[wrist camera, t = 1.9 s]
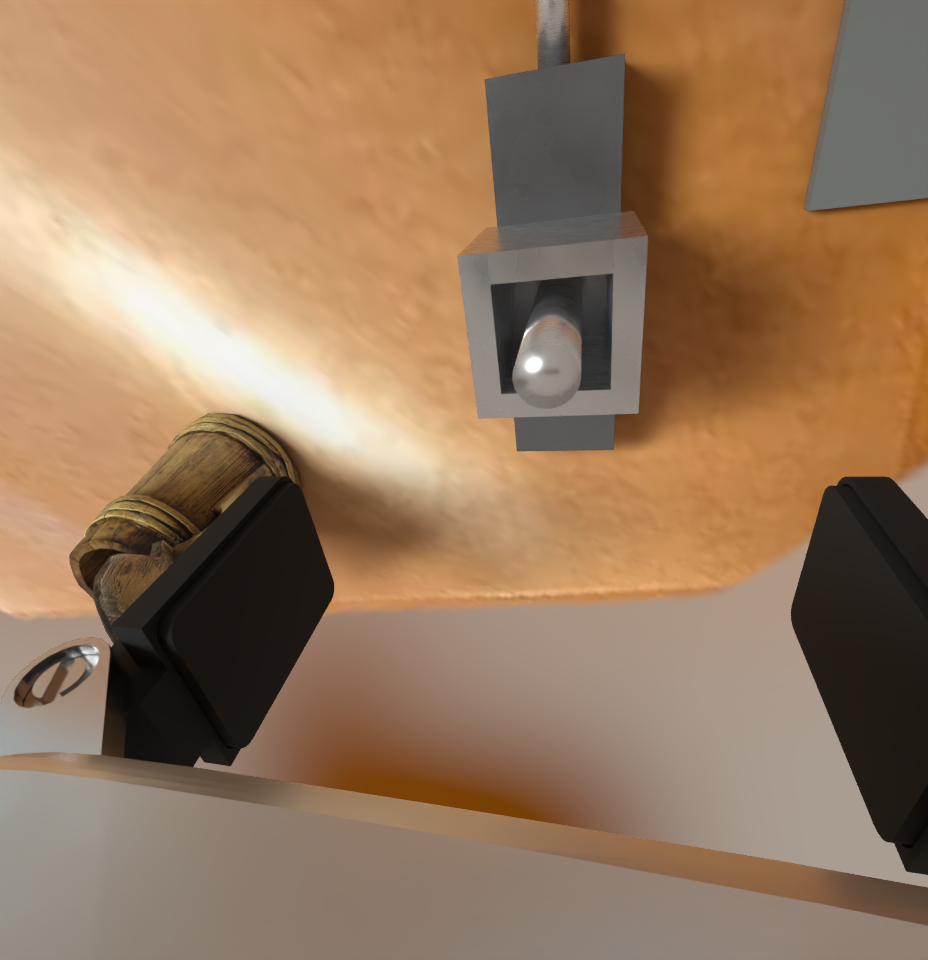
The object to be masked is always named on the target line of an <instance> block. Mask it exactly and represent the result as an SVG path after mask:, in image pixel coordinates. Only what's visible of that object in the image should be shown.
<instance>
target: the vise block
mask: <svg viewBox="0 0 928 960" xmlns="http://www.w3.org/2000/svg"><path fill="white" fill-rule="evenodd" d="M535 9H536V33H537V57H538V70H533V71H527V72H522V73H517V74H511V75H506V76H500V77H495V78H490V79H485V88H486V99H487V111H488V122H489V134H490V145H491V157H492V168H493V180H494V191H495V203H496V214H497V226H498V227H499V226H508V225H516V224H525V223H533V222H542V221H550V220H559V219H567V218H576V217H585V216H593V215H602V214H610V213H619V212H621V182H622V147H623V112H624V77H625V54H619V55H614V56H609V57H603V58H598V59H592V60H587V61H582V62H576V63H571V64H570V5H569V0H535ZM606 287H607V274H601V275H590V276H579V277H568V278H557V279H546V280H535V281H525V282H514V294H515V308H516V321H517V334H518V341H522V343H521V346H520V349H519V352H518V356H517V359H516V362H515V366H514V369H513V375H512V380H513V385H514V388H515V390H516V392H517V394H518V395H519V396H520V398H521V399H522V400H524V401H525V402H526V403H528V404H530V405H531V406H534V407H537V408H542V409H550V408H556V407H559V406H561V405H564V404H565V403H567V402H568V401H569V400H571V399H572V398H573V397H574V395H575V394H576V392H577V391H578V389H579V386H580V382H581V356H582V337H593V336H606ZM514 422H515V434H516V445H517V451H565V450H614V427H615V414H610V415H578V416H546V417H514Z"/></svg>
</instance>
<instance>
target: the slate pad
mask: <svg viewBox="0 0 928 960" xmlns="http://www.w3.org/2000/svg"><path fill="white" fill-rule="evenodd" d="M923 198H928V0H845V5H844V10H843V15H842V20H841V25H840V30H839V35H838V40H837V45H836V50H835V55H834V60H833V65H832V70H831V76H830V81H829V86H828V91H827V96H826V101H825V106H824V111H823V116H822V121H821V126H820V131H819V136H818V141H817V146H816V151H815V156H814V161H813V166H812V171H811V176H810V182H809V187H808V192H807V197H806V202H805V207H804V209H805V210H808V211H813V210H822V209H831V208H840V207H850V206H859V205H868V204H877V203H886V202H895V201H904V200H914V199H923Z"/></svg>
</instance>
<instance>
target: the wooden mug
mask: <svg viewBox="0 0 928 960" xmlns="http://www.w3.org/2000/svg"><path fill="white" fill-rule="evenodd" d="M262 476H287V477H289V478H291V479H292V481H293V482H294V483H295V484H298V485H299V486H300V488H301V490H302V487H301V483H300V478H299V474H298V473H297V471H296V470H295V468H294V466H293V464H292V461H291V459H290V458H289V457H288V455H287V454H286V453H285V452H284V450H283V448H282V447H281V445H280V444H279V443H278V442H277V441H276V440H275V439H274V438H273V437H271V436H270V435H269V434H268V433H267V432H266V431H264V430H263V429H261V428H259V427H258V426H256V425H255V424H253V423H252V422H250V421H247V420H245V419H242V418H240V417H238V416H235V415H229V414H210V413H208V414H207V415H205V416H203V417H201V418H199V419H198V420H196V421H195V422H193V423H192V424H191V425H189V426H188V427H187V428H186V429H185V430H183V431H182V432H181V433H180V434H179V435H177V436H176V437H175V439H174V440H173V441H172V443H171V444H170V445H169V447H168V450H167V451H166V453H165V454H164V455H163V456H162V457H161V458H160V459H159V460H158V461H157V462H156V463H155V464H154V466H153V467H152V468H151V469H150V470H149V471H148V472H147V473H146V474H145V475H144V476H143V477H142V479H141V480H140V481H139V482H138V483H137V484H136V485H135V486H134V487H133V488H132V489H131V490H130V491H129V492H128V493H127V494H126V495H125V496H121V497H119V498H117V499H116V500H114V501H113V502H111V503H110V504H108V505H107V506H106V507H105V509H104V510H103V511H102V512H101V513H100V514H99V515H98V516H97V517H96V519H95V520H94V521H93V522H92V523H91V524H90V526H89V527H88V528H87V530H86V531H85V532H84V538H83V539H82V540H81V542H80V543H79V544H78V545H77V546H76V547H75V548H74V550H73V551H72V552H71V553H70V565H71V568H72V572H73V575H74V576H75V578H76V580H77V582H78V584H79V586H80V587H81V588H82V589H84V590H85V591H86V592H87V593H88V594H89V595H90V596H91V597H92V598H93V599H94V601H95V605H96V608H97V611H98V613H99V616H100V618H101V620H102V623H103V625H104V628H105V630H106V632H107V634H108V636H109V637H110V639H111V641H112V642H113V644H115V643H116V642H117V641H118V640H119V639H118V637H117V636H116V634H115V633H114V632H113V630H112V629H111V627H110V626H111V625H112V624H113V623H114V622H115V621H116V620H117V619H118V618H119V617H120V616H121V615H122V614H123V613H124V612H125V611H126V610H127V609H128V608H129V607H130V605H131V604H132V603H133V602H134V601H135V600H136V599H137V598H138V597H139V596H140V595H141V594H142V593H143V592H144V591H145V590H146V589H147V588H148V587H149V586H150V585H151V584H152V583H153V582H154V581H155V580H156V579H157V578H158V577H159V576H160V575H161V574H162V573H163V572H164V571H165V570H166V569H167V568H168V567H169V566H170V565H171V564H172V563H173V562H174V561H175V560H176V559H177V558H178V557H179V556H180V555H181V554H182V553H183V552H184V551H185V550H186V549H187V548H188V547H189V546H190V545H191V544H192V543H193V542H194V541H195V540H196V539H197V538H198V537H199V536H200V535H201V534H202V533H203V532H204V531H205V530H206V529H207V528H208V527H209V526H210V525H211V524H212V523H213V522H214V521H215V520H216V519H217V518H218V517H219V516H220V515H221V514H222V513H223V512H224V511H225V510H226V509H227V508H228V507H229V506H230V505H231V504H232V503H233V502H234V501H235V500H236V499H237V498H238V497H239V496H240V495H241V494H242V493H243V492H244V491H245V489H246V488H247V487H248V486H249V485H250V484H251V483H252V482H253V481H254V480H255V479H257V478H258V477H262Z"/></svg>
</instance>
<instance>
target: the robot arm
mask: <svg viewBox="0 0 928 960" xmlns="http://www.w3.org/2000/svg"><path fill="white" fill-rule="evenodd" d="M333 594H334V581H333V578H332V575H331V572H330V570H329V567H328V564H327V561H326V558H325V555H324V552H323V550H322V547H321V544H320V541H319V538H318V535H317V532H316V529H315V527H314V524H313V521H312V518H311V515H310V512H309V509H308V506H307V504H306V501H305V498H304V495H303V492H302V490H301V488H300V486H299V485H298V484H295V483H294V482H293V481H292V479H291V478H289V477H287V476H262V477H258V478H257V479H255V480H254V481H253V482H252V483H251V484H250V485H249V486H248V487H247V488H246V489H245V491H244V492H243V493H242V494H241V495H240V496H239V497H238V498H237V499H236V500H235V501H234V502H233V503H232V504H231V505H230V506H229V507H228V508H227V509H226V510H225V511H224V512H223V513H222V514H221V515H220V516H219V517H218V518H217V519H216V520H215V521H214V522H213V523H212V524H211V525H210V526H209V527H208V528H207V529H206V530H205V531H204V532H203V533H202V534H201V535H200V536H199V537H198V538H197V539H196V540H195V541H194V542H193V543H192V544H191V545H190V546H189V547H188V548H187V549H186V550H185V551H184V552H183V553H182V554H181V555H180V556H179V557H178V558H177V559H176V560H175V561H174V562H173V563H172V564H171V565H170V566H169V567H168V568H167V569H166V570H165V571H164V572H163V573H162V574H161V575H160V576H159V577H158V578H157V579H156V580H155V581H154V582H153V583H152V584H151V585H150V586H149V587H148V588H147V589H146V590H145V591H144V592H143V593H142V594H141V595H140V596H139V597H138V598H137V599H136V600H135V601H134V602H133V603H132V604H131V605H130V607H129V608H128V609H127V610H126V611H125V612H124V613H123V614H122V615H121V616H120V617H119V618H118V619H117V620H116V621H115V622H114V623H113V624H112V625H111V626H110V627H111V629H112V630H113V632H114V633H115V634H116V636H117V637H118V639H119V640H118V641H117V642H116V643H115V644H114V645H113V646H112V647H110V645H109V644H108V643H107V642H105V641H104V640H103V639H101V638H95V637H87V638H79V639H76V640H72V641H69V642H66V643H63V644H61V645H59V646H57V647H55V648H53V649H51V650H49V651H47V652H45V653H44V654H42V655H41V656H39V657H38V658H36V659H35V660H33V661H32V662H31V663H29V664H28V665H27V666H26V667H25V668H24V669H22V670H21V671H20V672H19V673H18V674H17V675H16V676H15V678H14V679H13V680H12V681H11V682H10V683H9V685H8V686H7V688H6V690H5V692H4V694H3V696H2V698H1V702H0V960H928V888H927V887H921V886H916V885H910V884H905V883H899V882H894V881H888V880H882V879H877V878H871V877H866V876H860V875H855V874H849V873H844V872H838V871H833V870H827V869H822V868H816V867H810V866H805V865H799V864H794V863H788V862H782V861H777V860H771V859H765V858H759V857H753V856H747V855H741V854H734V853H728V852H722V851H716V850H710V849H704V848H698V847H691V846H686V845H680V844H674V843H667V842H662V841H655V840H649V839H643V838H637V837H631V836H625V835H619V834H613V833H606V832H601V831H594V830H588V829H582V828H576V827H570V826H564V825H558V824H552V823H545V822H539V821H532V820H527V819H520V818H514V817H508V816H502V815H495V814H489V813H483V812H477V811H470V810H464V809H458V808H452V807H445V806H439V805H432V804H426V803H420V802H414V801H408V800H401V799H395V798H389V797H381V796H376V795H370V794H363V793H357V792H351V791H344V790H338V789H331V788H325V787H318V786H312V785H306V784H299V783H292V782H286V781H279V780H273V779H266V778H260V777H253V776H246V775H240V774H234V773H227V772H221V771H214V770H208V769H201V768H194V767H193V766H194V764H195V763H196V761H197V760H198V758H199V757H201V758H202V760H203V761H204V762H207V763H213V764H220V765H226V766H231V765H232V763H233V761H234V759H235V758H236V756H237V754H238V753H239V751H240V749H241V748H244V747H246V746H247V745H248V744H249V743H250V742H251V740H252V739H253V737H254V736H255V734H256V732H257V730H258V729H259V727H260V725H261V723H262V721H263V720H264V718H265V716H266V714H267V713H268V711H269V709H270V707H271V706H272V704H273V702H274V700H275V699H276V696H277V695H278V693H279V691H280V690H281V688H282V686H283V684H284V683H285V681H286V679H287V677H288V676H289V674H290V672H291V670H292V669H293V667H294V665H295V663H296V662H297V660H298V658H299V656H300V654H301V653H302V651H303V649H304V647H305V646H306V644H307V642H308V640H309V639H310V637H311V635H312V633H313V632H314V630H315V628H316V626H317V624H318V623H319V621H320V619H321V617H322V616H323V614H324V612H325V610H326V609H327V607H328V605H329V603H330V602H331V600H332V597H333ZM791 620H792V625H793V628H794V631H795V634H796V636H797V639H798V641H799V643H800V646H801V648H802V651H803V653H804V655H805V658H806V660H807V663H808V665H809V668H810V670H811V673H812V675H813V677H814V680H815V682H816V685H817V687H818V690H819V692H820V695H821V697H822V699H823V702H824V704H825V707H826V709H827V712H828V714H829V716H830V719H831V721H832V724H833V726H834V729H835V731H836V734H837V736H838V738H839V741H840V743H841V746H842V748H843V751H844V753H845V756H846V758H847V760H848V763H849V765H850V768H851V770H852V773H853V775H854V777H855V780H856V782H857V785H858V787H859V790H860V792H861V795H862V797H863V799H864V802H865V804H866V807H867V809H868V812H869V814H870V816H871V819H872V821H873V824H874V826H875V828H876V830H877V832H878V834H879V835H880V836H881V838H882V839H883V840H885V841H886V842H892V843H894V844H895V846H896V848H897V851H898V853H899V855H900V858H901V860H902V862H903V865H904V867H905V869H906V871H907V872H913V873H919V874H926V875H928V519H927V518H926V517H925V516H924V514H923V513H922V512H921V511H920V510H919V509H918V508H917V507H916V505H915V504H914V503H913V502H912V501H911V500H910V499H909V497H907V495H906V494H905V493H904V492H903V491H902V490H901V488H900V487H899V486H898V485H897V484H896V483H895V482H894V481H893V480H892V479H891V478H889V477H844V478H842V479H841V480H840V481H839V482H838V484H837V486H829V487H827V488H826V490H825V492H824V494H823V498H822V501H821V505H820V508H819V512H818V515H817V519H816V522H815V526H814V529H813V533H812V536H811V540H810V543H809V547H808V550H807V554H806V558H805V561H804V565H803V568H802V572H801V575H800V579H799V582H798V586H797V589H796V593H795V597H794V600H793V603H792V608H791Z"/></svg>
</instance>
